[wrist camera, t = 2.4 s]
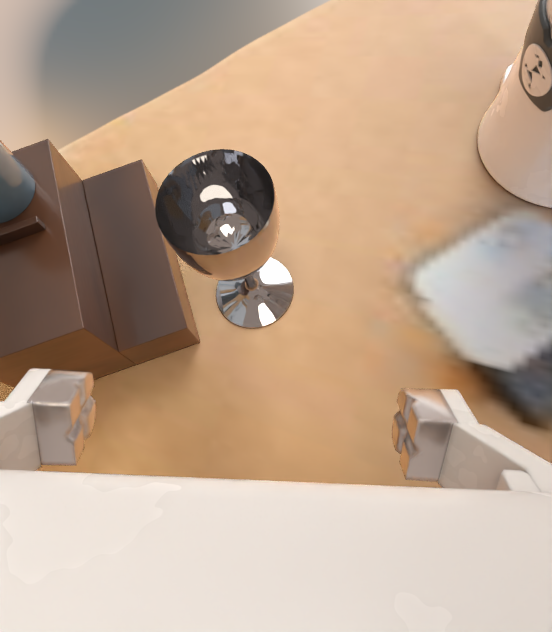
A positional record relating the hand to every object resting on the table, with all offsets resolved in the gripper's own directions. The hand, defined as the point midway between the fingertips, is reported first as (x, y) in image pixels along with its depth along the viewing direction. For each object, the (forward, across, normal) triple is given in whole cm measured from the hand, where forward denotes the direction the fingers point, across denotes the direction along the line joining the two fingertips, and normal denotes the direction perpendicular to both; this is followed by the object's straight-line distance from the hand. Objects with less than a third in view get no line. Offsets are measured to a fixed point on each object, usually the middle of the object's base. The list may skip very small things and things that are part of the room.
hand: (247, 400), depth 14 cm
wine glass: (+33, 0, +10) cm, 34 cm away
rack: (+36, +14, +12) cm, 40 cm away
